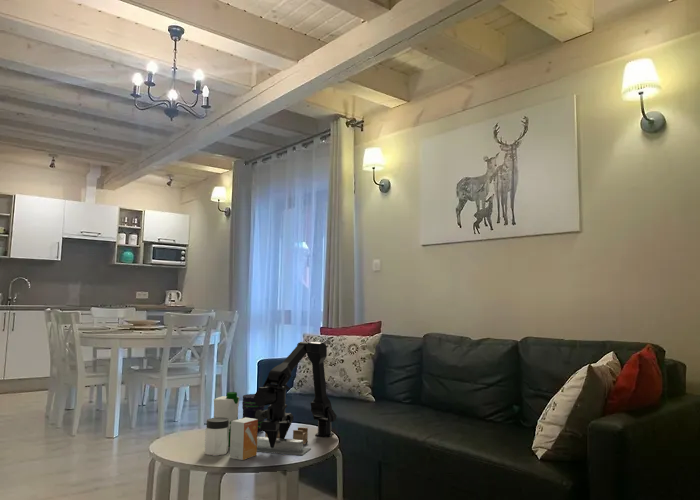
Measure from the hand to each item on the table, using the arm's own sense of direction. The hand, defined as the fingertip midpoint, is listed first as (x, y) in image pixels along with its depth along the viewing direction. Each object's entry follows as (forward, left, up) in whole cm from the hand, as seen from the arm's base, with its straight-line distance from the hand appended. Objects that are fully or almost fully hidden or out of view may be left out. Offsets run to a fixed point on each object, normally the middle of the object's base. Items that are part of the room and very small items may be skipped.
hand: (277, 444), depth 201 cm
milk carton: (-2, -23, -2) cm, 23 cm away
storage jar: (-27, -23, -2) cm, 36 cm away
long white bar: (0, 0, -2) cm, 2 cm away
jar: (+10, -20, -2) cm, 22 cm away
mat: (0, 0, -2) cm, 2 cm away
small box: (+12, -8, -2) cm, 15 cm away
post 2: (-12, +5, -2) cm, 13 cm away
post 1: (-12, -7, -2) cm, 14 cm away
